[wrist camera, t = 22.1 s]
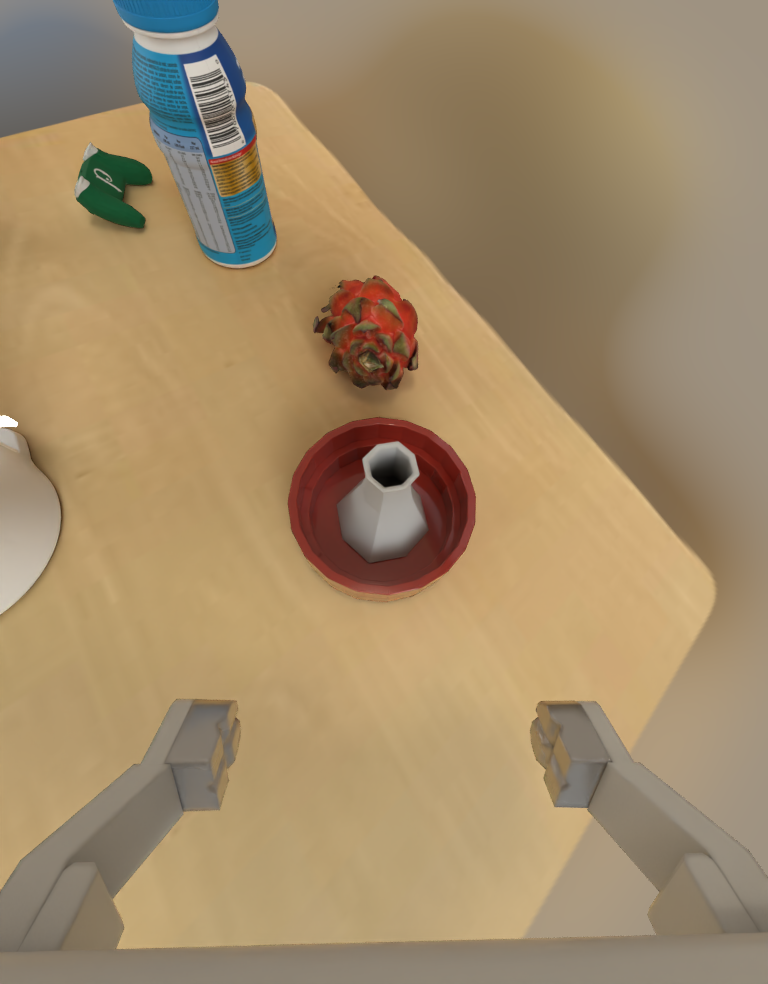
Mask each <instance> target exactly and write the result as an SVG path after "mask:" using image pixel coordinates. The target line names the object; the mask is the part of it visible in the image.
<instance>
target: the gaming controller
mask: <svg viewBox="0 0 768 984" xmlns="http://www.w3.org/2000/svg"><path fill="white" fill-rule="evenodd" d="M83 160H84V163H83V164H82V166H81V169H80V172H79V176H78V181H77V183H76V186H75V196H76V200H77V201H78V202H79V203H80V204H81V205H83V206H84V207H85V208H86V209H87V210H88V211H89V212H90V213H92V214H95V215H97V216H99V217H101V218H103V219H106V220H108V221H111V222H113V223H116V224H120V225H124V226H128V227H134V228H143V227H144V224H145V218H144V217H143V215H142V214H141V213H139V212H138V211H137V210H136V209H134V208H133V207H132V206H130V205H128V204H126V203H124V202H122V200H123V196H124V191H125V185H147V184H150V183H151V182H152V175H151V172H150V170H149V169H148V168H147V167H146V166H145V165H144V164H142V163H140V162H138V161H137V160H134V159H130V158H127V157H122V156H117V155H112V154H108V153H105V152H103V151H101V150H100V149H98V148H96V147H94V146H93V145H92V143H91V142H90V143H89V145H88V147H87V148H86V151H85V152H84V157H83Z"/></svg>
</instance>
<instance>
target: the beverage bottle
mask: <svg viewBox="0 0 768 984" xmlns="http://www.w3.org/2000/svg"><path fill="white" fill-rule="evenodd" d="M113 2H114V4H115V7H116V9H117V11H118V13H119V15H120V17H121V18H122V20H123V22H124V24H125V25H126V26H127V27H128V28H129V29H131V30H132V31H134V37H133V49H132V63H133V74H134V80H135V85H136V89H137V92H138V94H139V97H140V98H141V100H142V101H143V103H144V104H145V105H146V106H147V107H148V108H149V110H150V126H151V130H152V133H153V136H154V138H155V141H156V143H157V145H158V147H159V148H160V150H161V151H162V152H163V153H164V155H165V158H166V160H167V162H168V165H169V167H170V170H171V172H172V175H173V177H174V180H175V182H176V184H177V187H178V189H179V192H180V194H181V197H182V199H183V202H184V204H185V207H186V209H187V212H188V214H189V217H190V219H191V222H192V224H193V227H194V230H195V233H196V237H197V240H198V242H199V245H200V247H201V249H202V251H203V253H204V254H205V255H206V256H207V257H208V258H209V259H210V260H211V261H213V262H214V263H216V264H219V265H221V266H224V267H229V268H246V267H250V266H254V265H257V264H259V263H261V262H262V261H264V260H265V259H267V258H268V257H269V256H270V255H271V254H272V252H273V251H274V249H275V246H276V242H277V235H276V230H275V226H274V222H273V219H272V216H271V212H270V207H269V202H268V197H267V193H266V188H265V183H264V178H263V173H262V168H261V163H260V158H259V153H258V148H257V143H256V140H257V129H256V124H255V120H254V116H253V113H252V111H251V109H250V107H249V105H248V104H247V102H246V101H245V93H246V82H245V78H244V75H243V73H242V70H241V68H240V65H239V63H238V61H237V59H236V57H235V55H234V53H233V51H232V50H231V48H230V46H229V45H228V43H227V42H226V40H225V39H224V37H223V36H222V34H221V33H220V32H219V30H218V29H217V27H216V26H215V24H216V23H217V21H218V18H219V11H218V8H219V6H218V0H113Z"/></svg>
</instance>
